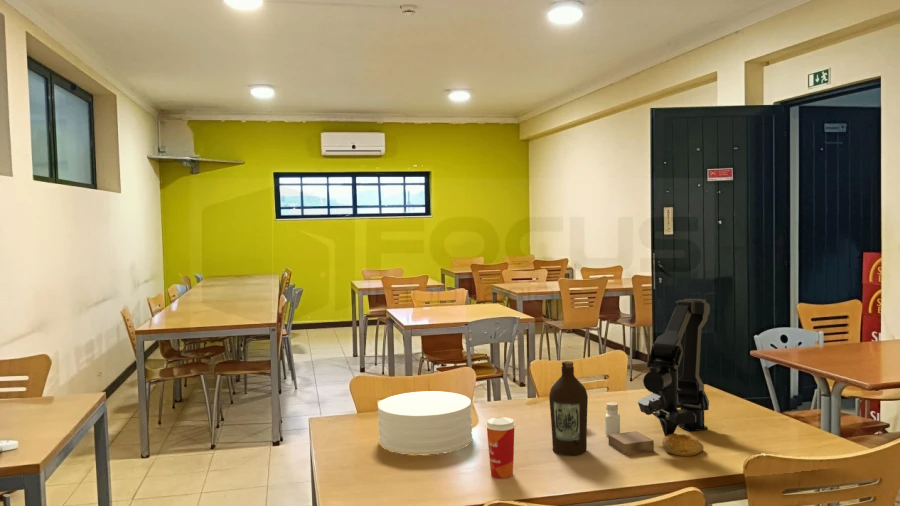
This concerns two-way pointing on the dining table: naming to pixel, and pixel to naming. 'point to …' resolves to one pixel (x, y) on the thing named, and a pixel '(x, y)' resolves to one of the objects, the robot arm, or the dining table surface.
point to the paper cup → (501, 446)
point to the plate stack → (425, 422)
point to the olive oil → (568, 413)
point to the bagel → (682, 444)
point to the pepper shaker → (612, 419)
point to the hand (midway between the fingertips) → (668, 439)
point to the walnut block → (631, 442)
